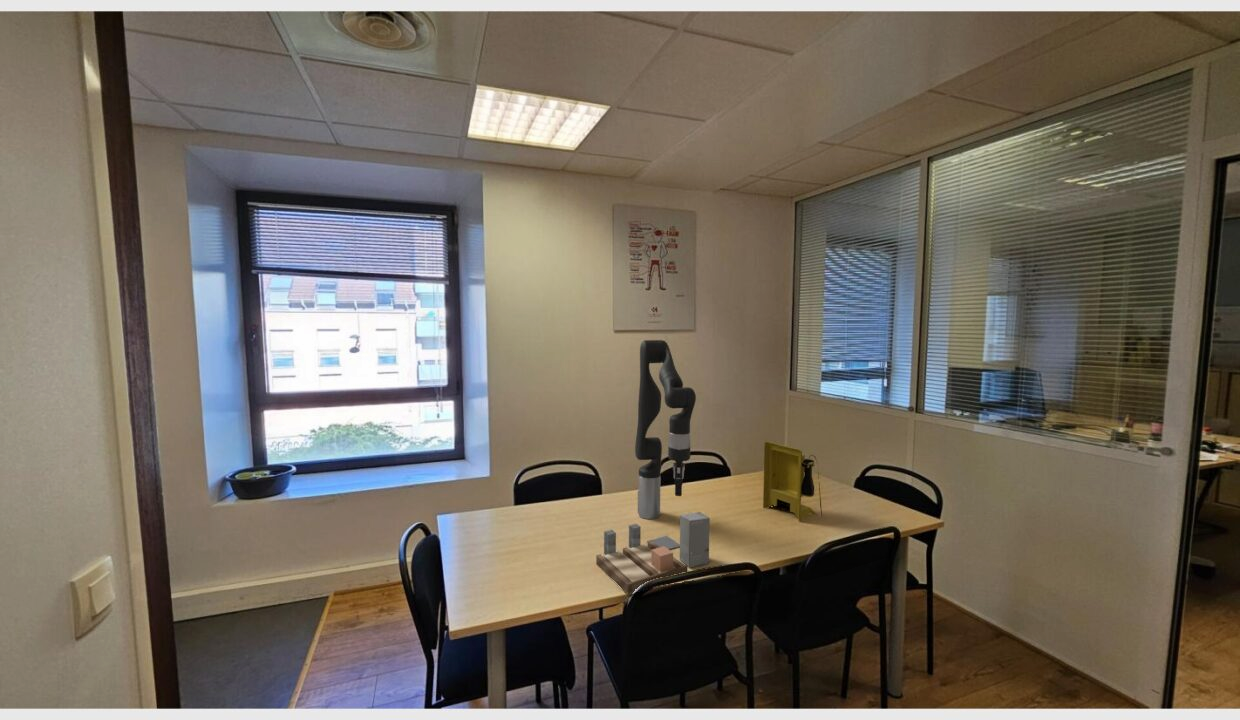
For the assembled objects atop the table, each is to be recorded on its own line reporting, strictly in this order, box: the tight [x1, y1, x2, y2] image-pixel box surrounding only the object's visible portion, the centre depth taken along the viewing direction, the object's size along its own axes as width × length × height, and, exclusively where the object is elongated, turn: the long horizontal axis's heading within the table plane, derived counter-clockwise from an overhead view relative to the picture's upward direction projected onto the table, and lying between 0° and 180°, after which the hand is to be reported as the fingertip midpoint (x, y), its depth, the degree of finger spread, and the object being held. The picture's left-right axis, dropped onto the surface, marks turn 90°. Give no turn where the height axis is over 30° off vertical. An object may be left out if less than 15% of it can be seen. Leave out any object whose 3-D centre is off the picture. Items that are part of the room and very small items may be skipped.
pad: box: [646, 535, 680, 551], centre depth 167 cm, size 9×9×1 cm
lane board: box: [595, 540, 688, 596], centre depth 149 cm, size 21×22×3 cm
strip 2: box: [628, 523, 675, 573], centre depth 153 cm, size 22×6×8 cm, turn 30°
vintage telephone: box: [762, 441, 823, 522], centre depth 196 cm, size 31×14×30 cm, turn 34°
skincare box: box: [679, 511, 710, 568], centre depth 155 cm, size 8×7×16 cm
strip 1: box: [603, 529, 649, 582], centre depth 148 cm, size 22×6×8 cm, turn 30°
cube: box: [651, 546, 674, 572], centre depth 147 cm, size 5×5×5 cm
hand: (678, 491), depth 158 cm, fingers open, 8 cm apart
